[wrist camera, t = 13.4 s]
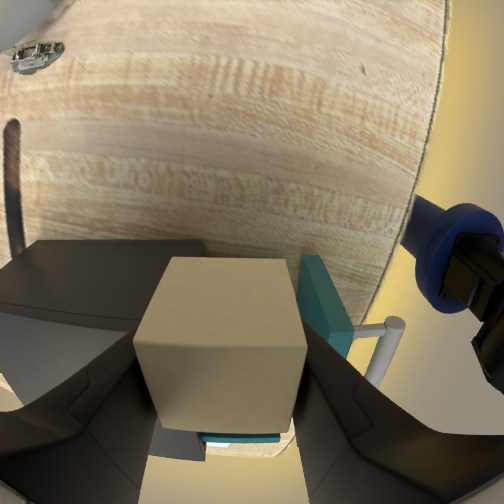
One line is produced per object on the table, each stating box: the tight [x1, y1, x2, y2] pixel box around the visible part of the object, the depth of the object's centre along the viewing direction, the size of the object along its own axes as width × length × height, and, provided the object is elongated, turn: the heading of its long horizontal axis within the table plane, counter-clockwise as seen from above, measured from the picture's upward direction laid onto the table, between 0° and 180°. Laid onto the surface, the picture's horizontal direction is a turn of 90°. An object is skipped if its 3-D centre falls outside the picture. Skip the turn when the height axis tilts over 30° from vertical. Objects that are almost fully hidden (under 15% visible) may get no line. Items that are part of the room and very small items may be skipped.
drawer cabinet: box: [0, 240, 206, 461], centre depth 18 cm, size 15×13×10 cm
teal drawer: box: [200, 255, 405, 447], centre depth 18 cm, size 18×11×8 cm, turn 89°
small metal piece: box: [0, 40, 64, 75], centre depth 12 cm, size 6×2×3 cm, turn 77°
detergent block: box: [133, 257, 308, 434], centre depth 8 cm, size 4×4×4 cm
